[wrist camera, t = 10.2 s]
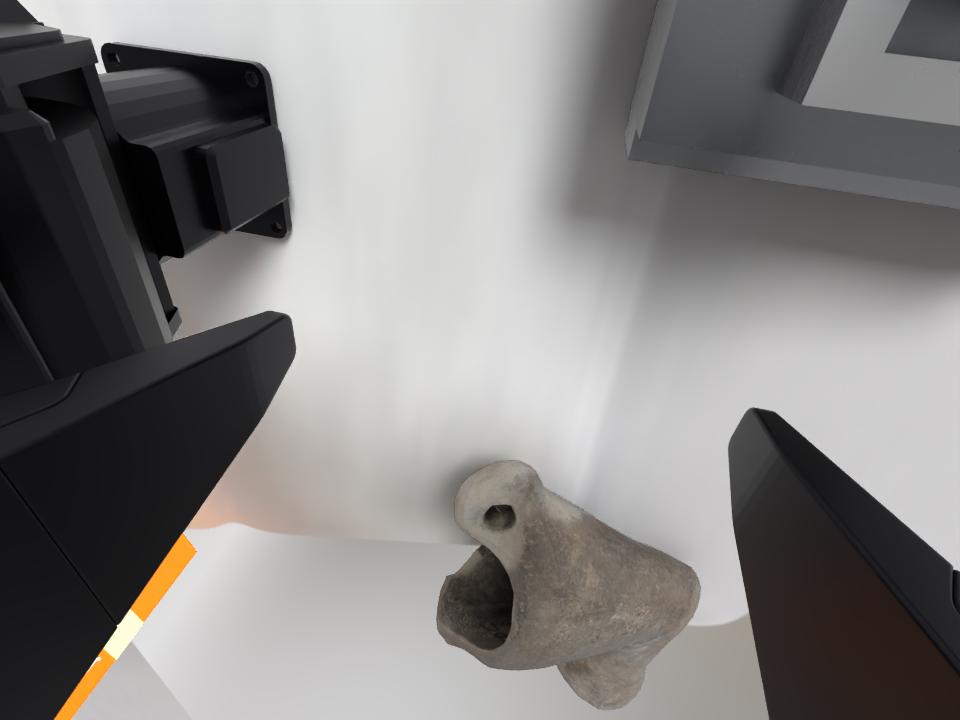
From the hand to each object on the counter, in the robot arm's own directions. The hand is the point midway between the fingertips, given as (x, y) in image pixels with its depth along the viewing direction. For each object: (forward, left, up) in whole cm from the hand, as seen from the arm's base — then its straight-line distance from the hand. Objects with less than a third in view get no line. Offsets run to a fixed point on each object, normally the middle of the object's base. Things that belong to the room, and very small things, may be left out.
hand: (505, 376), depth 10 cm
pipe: (+4, -20, -11) cm, 24 cm away
